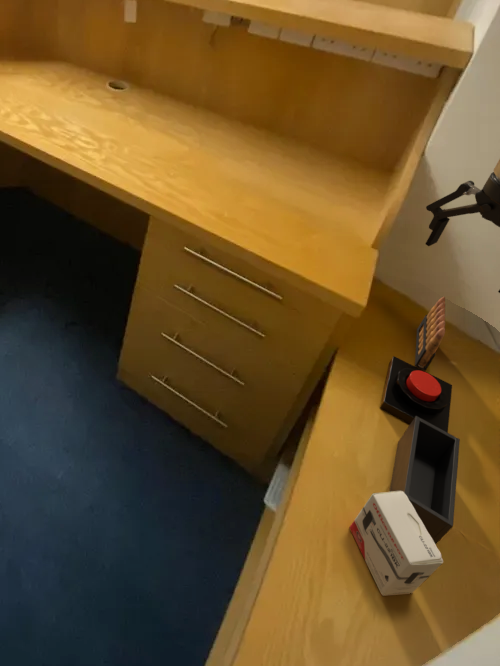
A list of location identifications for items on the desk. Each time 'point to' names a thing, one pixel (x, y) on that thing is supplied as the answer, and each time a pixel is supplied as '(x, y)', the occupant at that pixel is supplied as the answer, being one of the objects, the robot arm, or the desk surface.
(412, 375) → the button
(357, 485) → the desk surface
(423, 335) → the ammunition clip
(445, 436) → the box
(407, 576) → the ink box
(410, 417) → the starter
